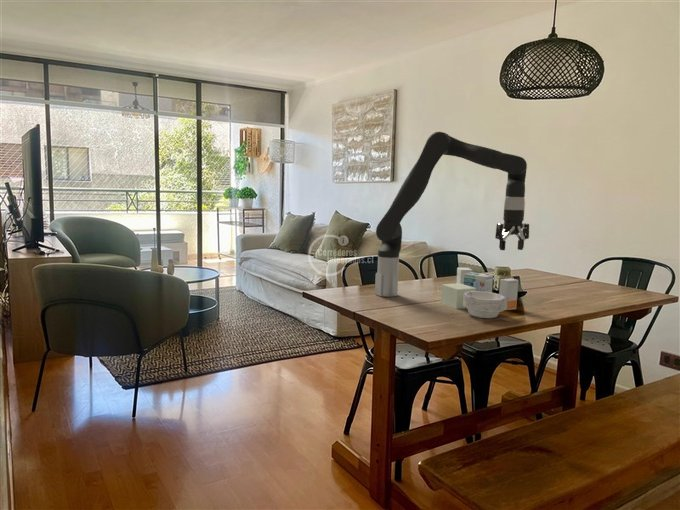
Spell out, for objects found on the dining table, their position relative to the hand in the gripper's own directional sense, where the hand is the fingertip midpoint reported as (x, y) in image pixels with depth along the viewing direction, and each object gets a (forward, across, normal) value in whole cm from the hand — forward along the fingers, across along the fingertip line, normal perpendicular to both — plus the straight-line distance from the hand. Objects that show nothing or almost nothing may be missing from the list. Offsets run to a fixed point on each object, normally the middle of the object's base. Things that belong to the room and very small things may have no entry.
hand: (511, 249), depth 194 cm
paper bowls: (+24, -16, -6) cm, 30 cm away
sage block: (+24, -16, +11) cm, 31 cm away
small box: (+24, +4, +36) cm, 43 cm away
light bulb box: (+24, 0, +20) cm, 31 cm away
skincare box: (+24, 0, 0) cm, 24 cm away
